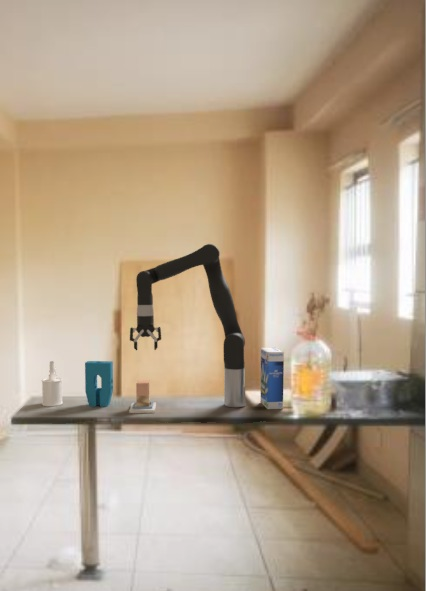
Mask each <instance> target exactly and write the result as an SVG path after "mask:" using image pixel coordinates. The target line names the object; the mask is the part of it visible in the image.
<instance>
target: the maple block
mask: <svg viewBox="0 0 426 591" xmlns="http://www.w3.org/2000/svg"><path fill="white" fill-rule="evenodd" d="M150 402H151V392H150V393H149V396H136V402H135V403H137V407H149V406H150Z"/></svg>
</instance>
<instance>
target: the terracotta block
mask: <svg viewBox="0 0 426 591" xmlns="http://www.w3.org/2000/svg"><path fill="white" fill-rule="evenodd" d="M135 387H136V388H135V389H136V390H135V391H136V392H135V393H136V396H149V393H150V394H151V391H150V387H151V386H150V380H137V381H136V384H135Z"/></svg>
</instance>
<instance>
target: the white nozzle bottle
mask: <svg viewBox="0 0 426 591" xmlns="http://www.w3.org/2000/svg"><path fill="white" fill-rule="evenodd" d="M48 372H49V374H48V377H46V378H42V380H41V385H42V386H41V387H42V390H41V391H42V393H41V394H42V403H41V405H42V406H43V407H48V408H50V407H58V406H61V405H63V404H64V403H63V378H62V377H56V376H57V369H56V366H55V362H54V360H53V361H52V360H51V361H49V371H48Z"/></svg>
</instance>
